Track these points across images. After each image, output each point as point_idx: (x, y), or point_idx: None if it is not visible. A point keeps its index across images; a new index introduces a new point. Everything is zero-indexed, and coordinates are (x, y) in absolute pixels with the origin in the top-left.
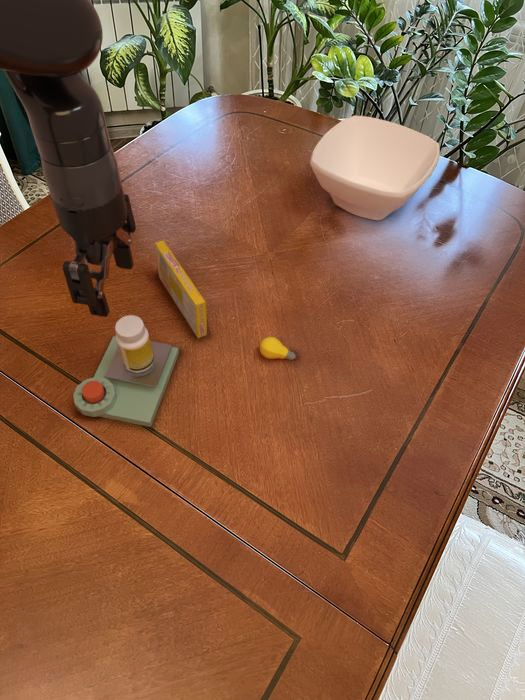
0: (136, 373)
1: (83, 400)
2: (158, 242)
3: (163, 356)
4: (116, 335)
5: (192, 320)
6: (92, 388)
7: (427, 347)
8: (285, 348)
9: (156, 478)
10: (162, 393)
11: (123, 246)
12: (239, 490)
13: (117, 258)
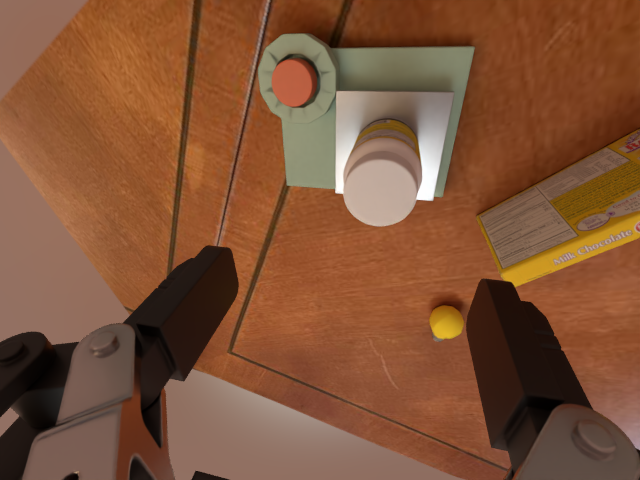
0: None
1: (276, 65)
2: None
3: None
4: (373, 145)
5: (500, 225)
6: (293, 83)
7: (461, 433)
8: (444, 338)
9: (227, 204)
10: None
11: (510, 445)
12: (250, 285)
13: (493, 326)
